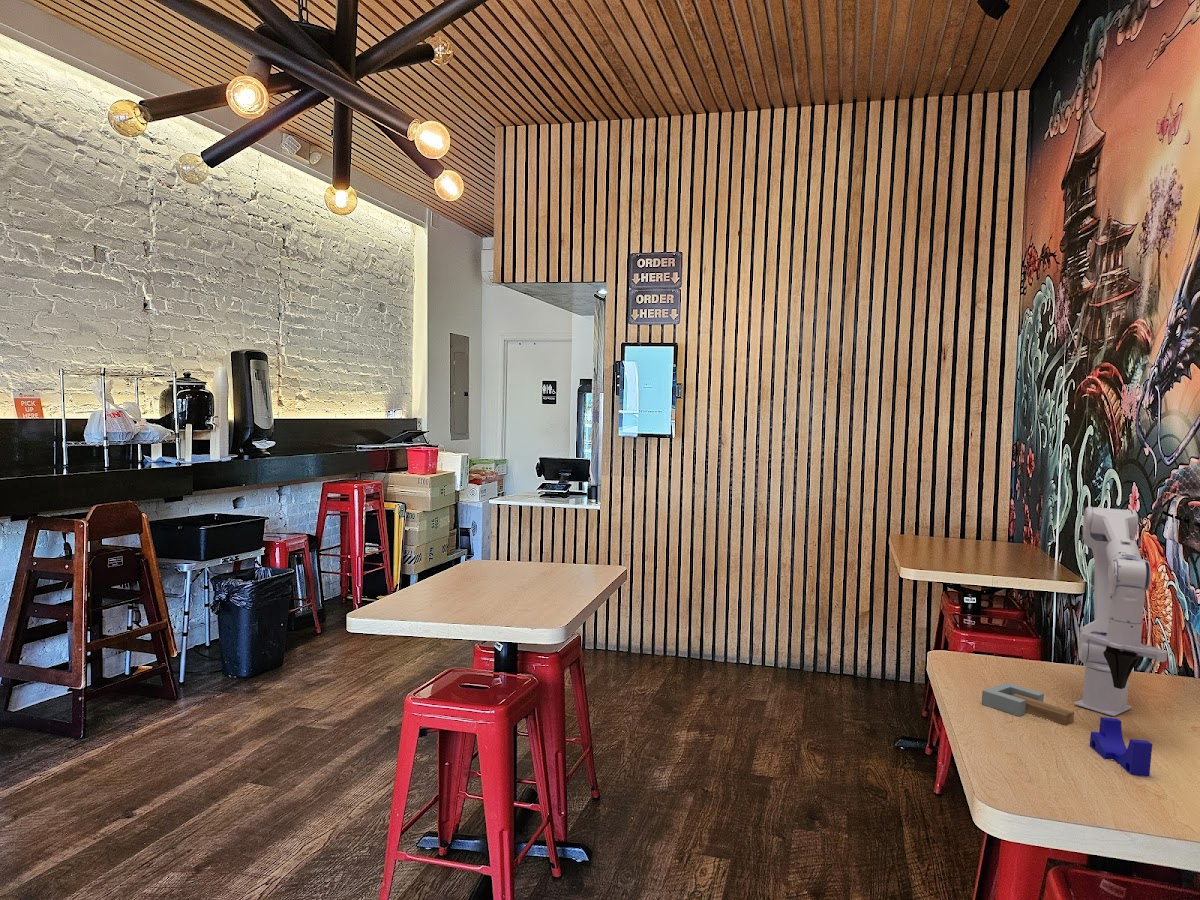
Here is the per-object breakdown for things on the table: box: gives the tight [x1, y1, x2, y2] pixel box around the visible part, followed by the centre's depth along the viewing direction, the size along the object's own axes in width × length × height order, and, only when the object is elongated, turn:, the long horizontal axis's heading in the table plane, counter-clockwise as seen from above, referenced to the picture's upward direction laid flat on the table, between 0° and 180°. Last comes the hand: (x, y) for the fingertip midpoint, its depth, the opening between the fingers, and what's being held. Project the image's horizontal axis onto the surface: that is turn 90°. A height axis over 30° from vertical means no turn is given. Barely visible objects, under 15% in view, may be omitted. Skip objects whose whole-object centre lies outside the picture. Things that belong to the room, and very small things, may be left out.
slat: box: [1011, 694, 1075, 726], centre depth 170 cm, size 4×12×2 cm, turn 37°
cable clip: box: [1089, 716, 1153, 777], centre depth 148 cm, size 12×4×6 cm, turn 173°
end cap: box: [981, 682, 1045, 717], centre depth 175 cm, size 11×8×3 cm
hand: (1119, 687), depth 161 cm, fingers closed
